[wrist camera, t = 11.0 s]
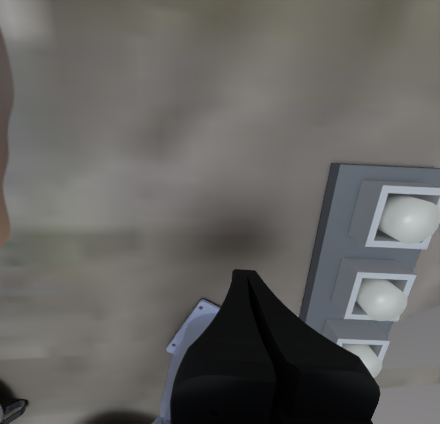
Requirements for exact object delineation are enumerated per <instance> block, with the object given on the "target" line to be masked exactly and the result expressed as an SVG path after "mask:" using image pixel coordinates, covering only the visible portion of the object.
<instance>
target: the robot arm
mask: <svg viewBox="0 0 440 424" xmlns="http://www.w3.org/2000/svg"><path fill="white" fill-rule="evenodd" d="M200 306H202V307H200ZM166 350H167V352H169V353H171V354H172V358H171V362H170V367H169V371H168V375H167V379H166V383H165V387H164V392H163V396H162V400H161V405H160V417H156V419H155V420H154V422H152V423H151V424H373V423H372V421H371V418H372V416H373V413H374V411H375V409H376V407H377V404H378V401H379V397H380V389H379V386H378V385H377V383H376V381H375V380H374V378H373V377H372V375H371V373H370V372H369V370H368V369H367V367H366V366H365V364H364V363H363V362H362V360H361V359H360V358H359V356H357V355H355V354H353V353H352V352H350V351H348V350H346V349H344V348H343V347H341V346H339V345H337V344H335V343H334V342H332V341H331V340H329V339H328V338H326V337H324V336H323V335H321V334H320V333H318V332H317V331H315V330H314V329H313V328H311V327H310V326H309V325H307V324H306V323H305V322H303V321H302V320H301V319H300V318H298V317H297V316H296V315H295V314H294V313H292V312H291V311H290V310H289V309H288V308H287V307H286V306H285V305H284V304H283V303H282V302H281V301H280V300H279V299H278V298H277V297H276V296H275V295H274V294H273V292H272V291H271V290H270V289H269V288H268V287H267V285H266V284H265V283H264V282H263V280H262V279H261V278H260V276H259V275H258V274H257V272H256V271H255V270H238V269H235V270H233V273H232V282H231V285H230V288H229V291H228V293H227V296H226V298H225V300H224V302H223V304H222V306H221V308H220V307H218V306H216V305H214V304H212V303H210V302H208V301H206V300H204V299H202V300H200V301H199V303H198V304H197V305H196V307H195V308H194V310H193V311H192V312H191V314H190V315H189V317H188V318H187V319H186V321H185V322H184V324H183V325H182V326H181V328H180V329H179V331H178V332H177V333H176V335H175V336H174V337H173V339H172V340H171V342H170V343H169V344H168V346H167V349H166Z"/></svg>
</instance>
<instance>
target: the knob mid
mask: <svg viewBox="0 0 440 424" xmlns="http://www.w3.org/2000/svg"><path fill="white" fill-rule="evenodd" d="M356 302H357V303H358V304H359V305H360V306H361V307H362V309H363V310H364V311H365V312H366V313H367V314H368V316H369V317H370V318H372V319H374V320H377V321H388V320H391V319H394V318H396V317H398V316H399V315H400V314H401V313H402V312H403V311H404V310H405V308H406V306H407V297H406V295H405V294H404V293H403V292H402V291H401V290H399V289H398V288H397V287H396V286H394V285H393V284H392V283H391V282H390V281H388V280H387V279H372V278H362V281H361V284H360V288H359V291H358V294H357V298H356Z"/></svg>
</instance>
